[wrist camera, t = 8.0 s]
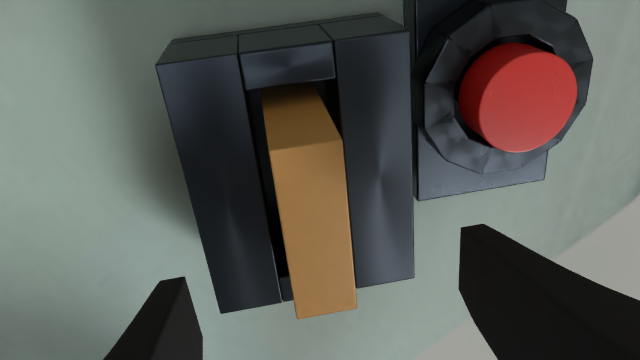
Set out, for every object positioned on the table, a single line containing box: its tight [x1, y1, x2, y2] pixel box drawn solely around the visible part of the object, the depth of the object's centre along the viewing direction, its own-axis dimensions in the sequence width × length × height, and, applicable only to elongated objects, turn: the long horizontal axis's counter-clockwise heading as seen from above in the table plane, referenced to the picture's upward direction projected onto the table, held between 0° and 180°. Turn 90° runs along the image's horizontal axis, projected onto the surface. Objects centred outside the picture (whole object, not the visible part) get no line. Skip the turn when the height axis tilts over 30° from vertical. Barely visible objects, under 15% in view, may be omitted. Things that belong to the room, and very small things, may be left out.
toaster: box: [155, 13, 414, 314], centre depth 19 cm, size 10×8×4 cm
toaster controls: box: [404, 0, 593, 201], centre depth 19 cm, size 10×6×3 cm, turn 6°
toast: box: [260, 82, 357, 319], centre depth 17 cm, size 6×2×6 cm, turn 6°
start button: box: [458, 42, 577, 152], centre depth 17 cm, size 4×4×2 cm
